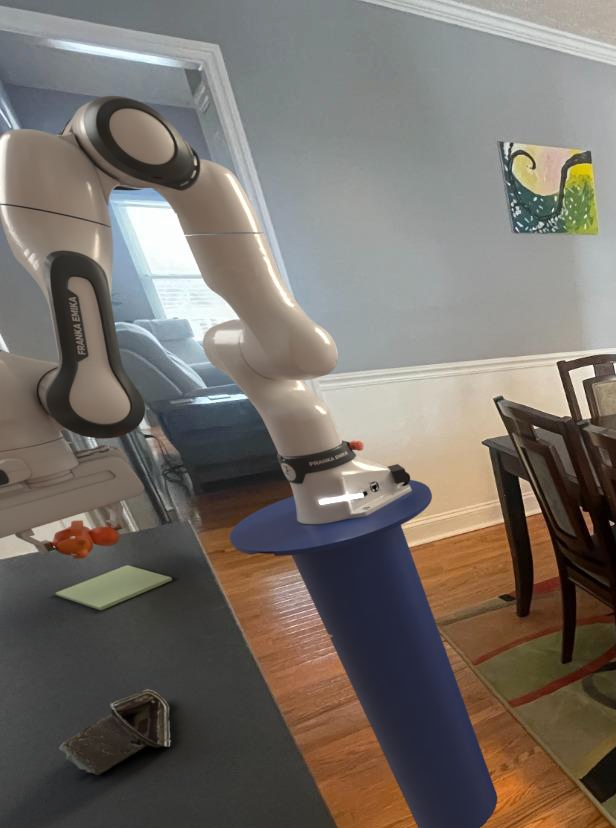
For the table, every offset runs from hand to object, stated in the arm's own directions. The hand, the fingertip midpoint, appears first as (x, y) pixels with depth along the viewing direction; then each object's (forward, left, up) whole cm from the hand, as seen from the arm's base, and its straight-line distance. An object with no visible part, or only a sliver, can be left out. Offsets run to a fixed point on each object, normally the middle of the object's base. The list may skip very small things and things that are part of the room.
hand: (84, 540), depth 98 cm
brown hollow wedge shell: (+20, +48, -10) cm, 53 cm away
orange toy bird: (-1, 0, -2) cm, 2 cm away
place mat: (0, 0, -9) cm, 9 cm away
